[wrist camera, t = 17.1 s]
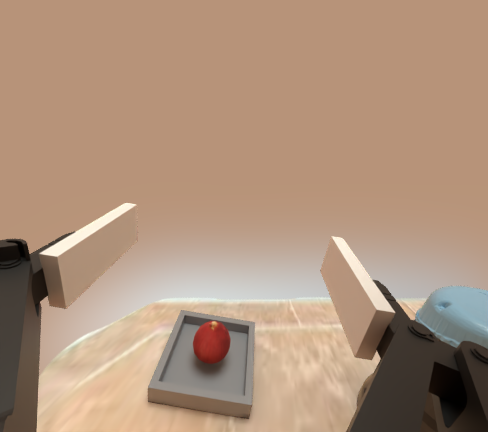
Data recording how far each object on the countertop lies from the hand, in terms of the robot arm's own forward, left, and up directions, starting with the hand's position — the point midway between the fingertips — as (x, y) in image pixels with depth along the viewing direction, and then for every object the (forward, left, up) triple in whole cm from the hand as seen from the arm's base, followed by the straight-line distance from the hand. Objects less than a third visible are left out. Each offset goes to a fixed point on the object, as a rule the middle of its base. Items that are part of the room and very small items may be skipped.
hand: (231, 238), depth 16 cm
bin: (-6, -11, -30) cm, 33 cm away
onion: (-6, -11, -29) cm, 32 cm away
